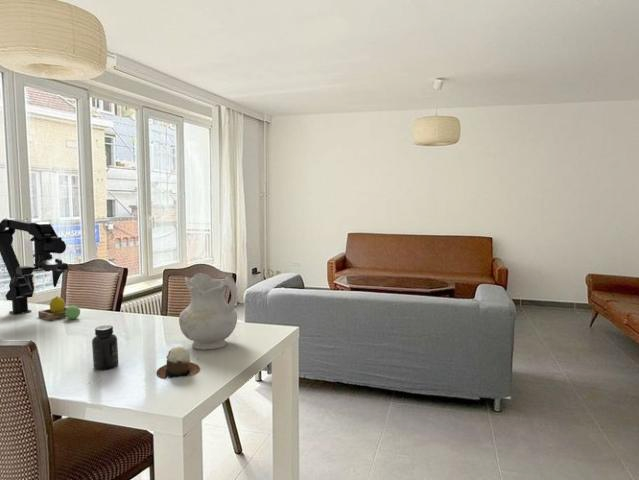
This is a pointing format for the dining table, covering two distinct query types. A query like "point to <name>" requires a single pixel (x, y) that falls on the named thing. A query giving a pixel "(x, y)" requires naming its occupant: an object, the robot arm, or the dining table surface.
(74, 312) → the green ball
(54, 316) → the walnut tray
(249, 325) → the dining table surface
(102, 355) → the supplement bottle
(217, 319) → the ceramic pitcher
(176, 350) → the brown brimmed hat
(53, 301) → the lemon
